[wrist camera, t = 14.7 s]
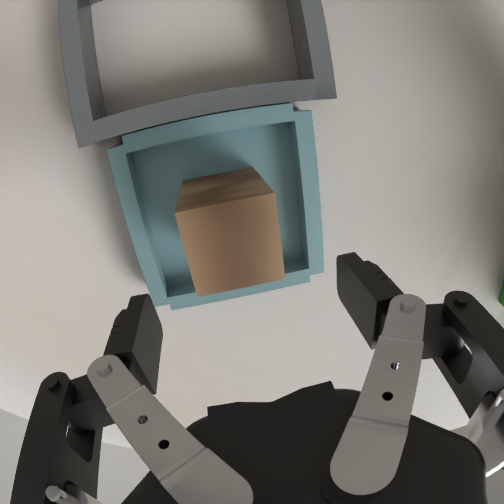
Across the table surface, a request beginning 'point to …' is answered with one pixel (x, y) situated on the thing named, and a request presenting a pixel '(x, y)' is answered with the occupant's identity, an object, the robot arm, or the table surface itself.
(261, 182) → the walnut block
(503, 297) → the hardback book
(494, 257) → the table surface
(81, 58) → the holder
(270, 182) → the tray
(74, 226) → the table surface
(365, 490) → the robot arm
